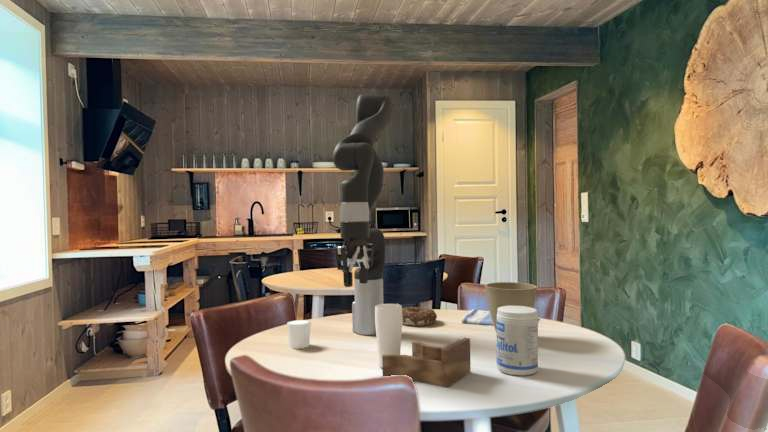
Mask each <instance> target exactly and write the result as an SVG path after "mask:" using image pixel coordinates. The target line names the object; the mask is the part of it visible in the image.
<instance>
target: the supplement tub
mask: <svg viewBox="0 0 768 432" xmlns="http://www.w3.org/2000/svg"><path fill="white" fill-rule="evenodd" d="M538 317H539V315H538V310H537V309H536V308H535V307H534V308H531V307H526V306H502V307H499V308H498V309H497V333H496V367H497V369H498V370H499V371H500V372H502V373H504V374H507V375H509V376H510V375H512V376H520V377H521V376H525V377H526V376H531V375H534V374H535V373H536V372H537V371H538V369H539V368H538V367H539V365H538V364H539V363H538V362H539V359H538V358H539V357H538V356H539V350H538V349H539V318H538Z"/></svg>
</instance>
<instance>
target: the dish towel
mask: <svg viewBox="0 0 768 432" xmlns="http://www.w3.org/2000/svg"><path fill="white" fill-rule="evenodd" d="M461 323H462V324H465V325H466V324H467V325H469V324H470V325H477V324H478V325H479V326H489V325H491V326H492V327H494V324H493V321H492V318H491V314H490V310H482V309H481V310H480V309H476V308H473V309H471V310H469V312H468V313H466V314H465V315H463V317H462V318H461Z"/></svg>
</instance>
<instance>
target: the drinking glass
mask: <svg viewBox="0 0 768 432" xmlns="http://www.w3.org/2000/svg"><path fill="white" fill-rule="evenodd" d="M402 308H403V307H402V305H401V304H399V303H383V304H380V305H376V306H375V327H376V334H375V335H376V345H377V356H378V358H377V359H378V366H379V367H380V368H382V369H383V366H382V356H383V355H401V349H402V348H401V347H402V334H403V332H402V331H403V324H402Z"/></svg>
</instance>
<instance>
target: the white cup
mask: <svg viewBox="0 0 768 432" xmlns="http://www.w3.org/2000/svg"><path fill="white" fill-rule="evenodd" d="M311 323H312V322H311V320H307V319H295V320H290V321H287V322H286V328H287V337H288V342H289V343H288V344H289V345H288V346H289V348H291V349H295V350H296V349H299V350H300V348H301V349H306V348H308V347H309V346H310V341H311V340H310V338H311V325H312V324H311ZM305 347H306V348H305Z"/></svg>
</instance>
